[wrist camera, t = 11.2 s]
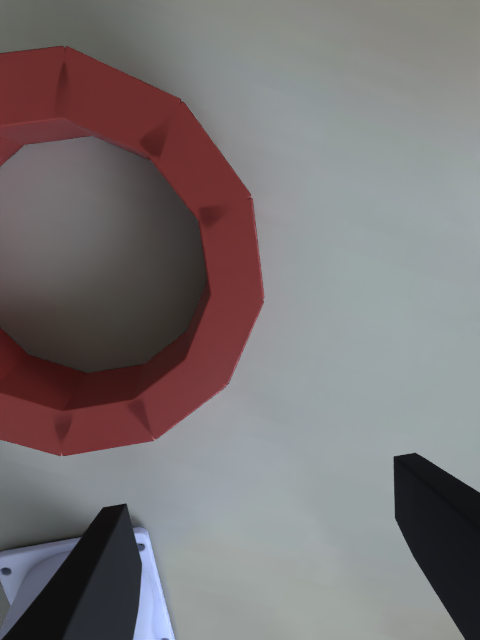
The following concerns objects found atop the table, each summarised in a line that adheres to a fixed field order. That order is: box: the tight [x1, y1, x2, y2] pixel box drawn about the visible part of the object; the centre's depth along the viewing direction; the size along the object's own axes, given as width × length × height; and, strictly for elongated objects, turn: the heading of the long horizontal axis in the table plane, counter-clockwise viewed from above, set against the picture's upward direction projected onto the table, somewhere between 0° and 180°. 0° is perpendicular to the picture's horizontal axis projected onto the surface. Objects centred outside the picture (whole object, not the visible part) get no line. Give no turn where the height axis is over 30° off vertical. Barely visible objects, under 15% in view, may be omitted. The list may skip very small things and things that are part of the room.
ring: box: [0, 46, 264, 456], centre depth 16 cm, size 14×14×4 cm
